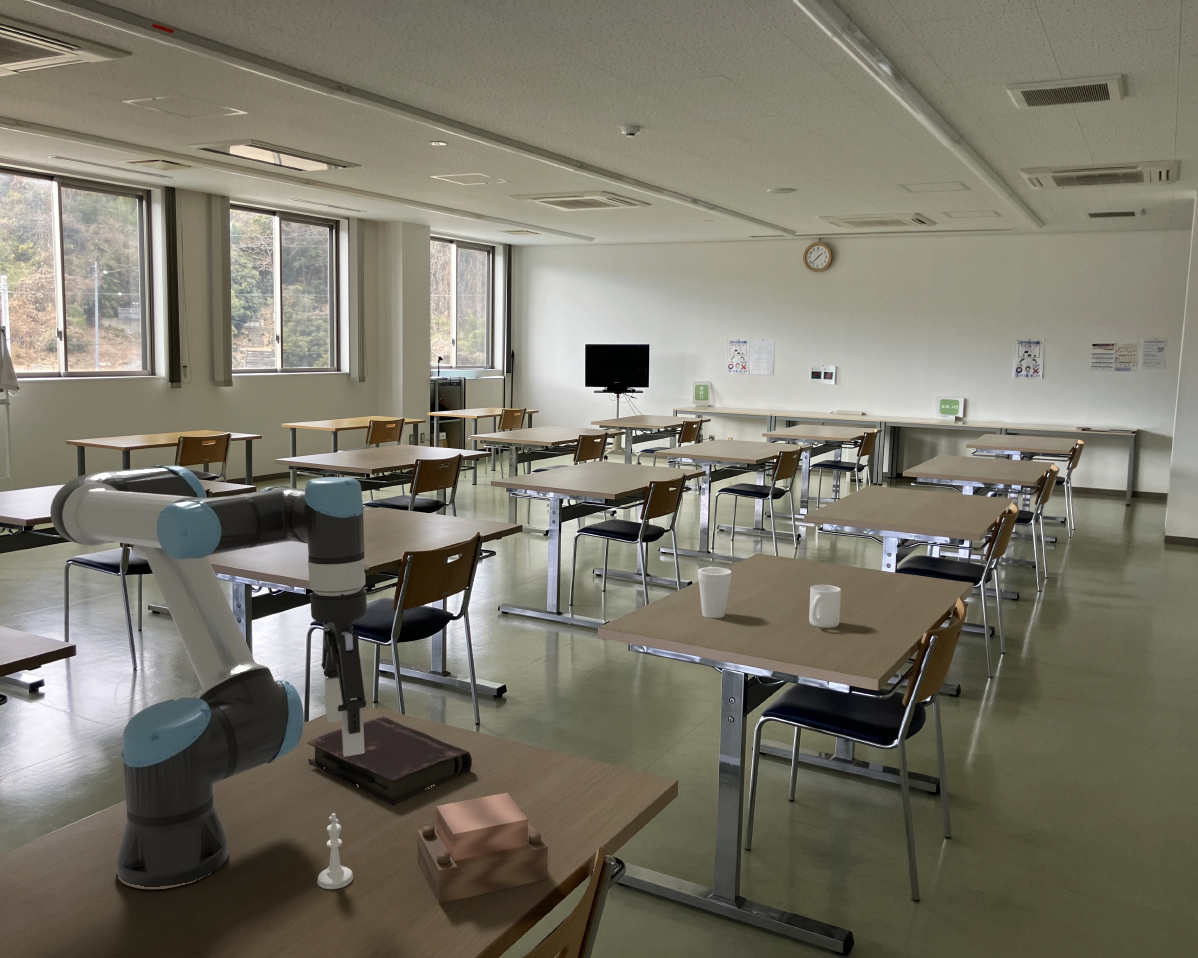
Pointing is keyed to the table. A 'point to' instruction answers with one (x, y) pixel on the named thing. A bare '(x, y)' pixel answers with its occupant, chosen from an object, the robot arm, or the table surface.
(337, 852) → the chess piece
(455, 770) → the diary
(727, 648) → the table surface
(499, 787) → the table surface
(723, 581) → the foam cup
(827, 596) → the mug
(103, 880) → the table surface
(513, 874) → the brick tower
